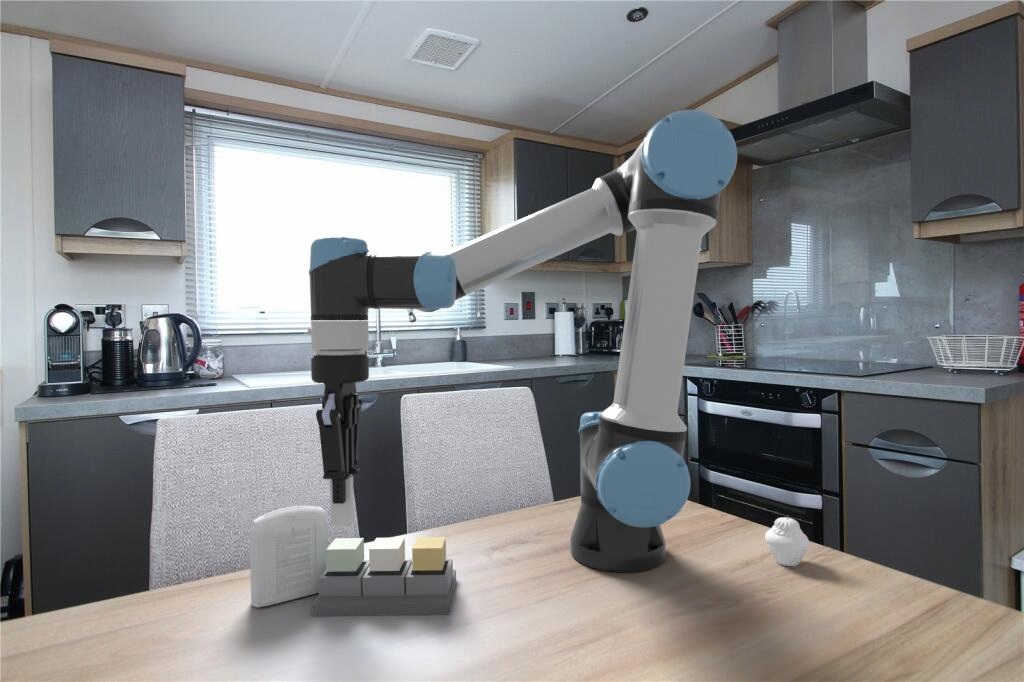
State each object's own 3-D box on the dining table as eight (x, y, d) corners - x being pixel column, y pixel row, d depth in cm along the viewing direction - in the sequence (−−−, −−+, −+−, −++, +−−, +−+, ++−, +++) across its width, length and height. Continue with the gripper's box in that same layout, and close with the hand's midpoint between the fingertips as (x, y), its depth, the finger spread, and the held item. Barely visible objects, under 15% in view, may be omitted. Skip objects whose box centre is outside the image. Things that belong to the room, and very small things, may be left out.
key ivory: (405, 558, 81) (404, 537, 81) (399, 570, 77) (398, 548, 77) (376, 558, 81) (376, 537, 81) (369, 571, 77) (369, 549, 77)
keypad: (456, 579, 84) (455, 552, 84) (447, 614, 74) (447, 584, 74) (336, 581, 84) (335, 554, 84) (312, 616, 74) (311, 585, 74)
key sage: (364, 558, 81) (363, 537, 81) (356, 571, 77) (355, 549, 77) (336, 559, 81) (335, 538, 81) (326, 571, 77) (326, 549, 77)
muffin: (795, 553, 91) (796, 510, 91) (817, 570, 85) (817, 523, 85) (757, 554, 91) (757, 511, 91) (776, 571, 85) (776, 524, 85)
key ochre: (446, 557, 81) (445, 536, 81) (442, 570, 77) (442, 548, 77) (417, 558, 81) (417, 537, 81) (412, 570, 77) (412, 548, 77)
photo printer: (324, 580, 85) (322, 497, 84) (332, 591, 81) (330, 505, 81) (248, 599, 79) (245, 511, 79) (254, 612, 75) (251, 519, 75)
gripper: (328, 350, 85) (330, 508, 85) (294, 355, 72) (297, 542, 72) (379, 350, 85) (380, 508, 85) (354, 355, 71) (356, 542, 72)
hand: (342, 523), depth 79 cm, fingers closed
